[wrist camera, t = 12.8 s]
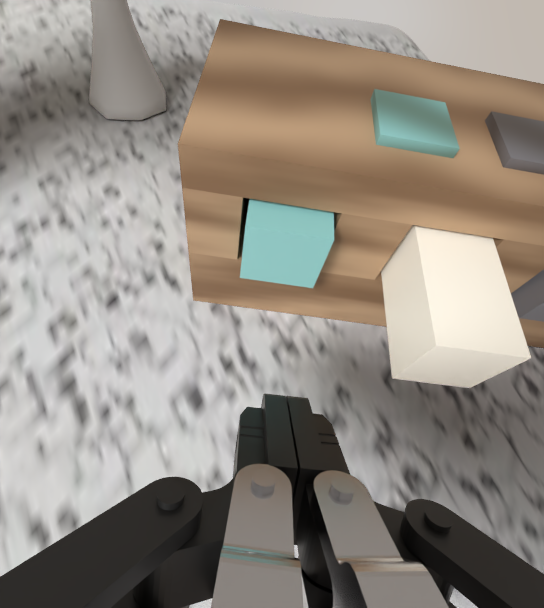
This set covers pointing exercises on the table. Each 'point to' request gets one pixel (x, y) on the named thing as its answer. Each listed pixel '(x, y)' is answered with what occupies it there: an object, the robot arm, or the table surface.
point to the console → (355, 164)
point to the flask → (121, 66)
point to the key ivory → (449, 310)
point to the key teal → (285, 243)
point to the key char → (530, 298)
